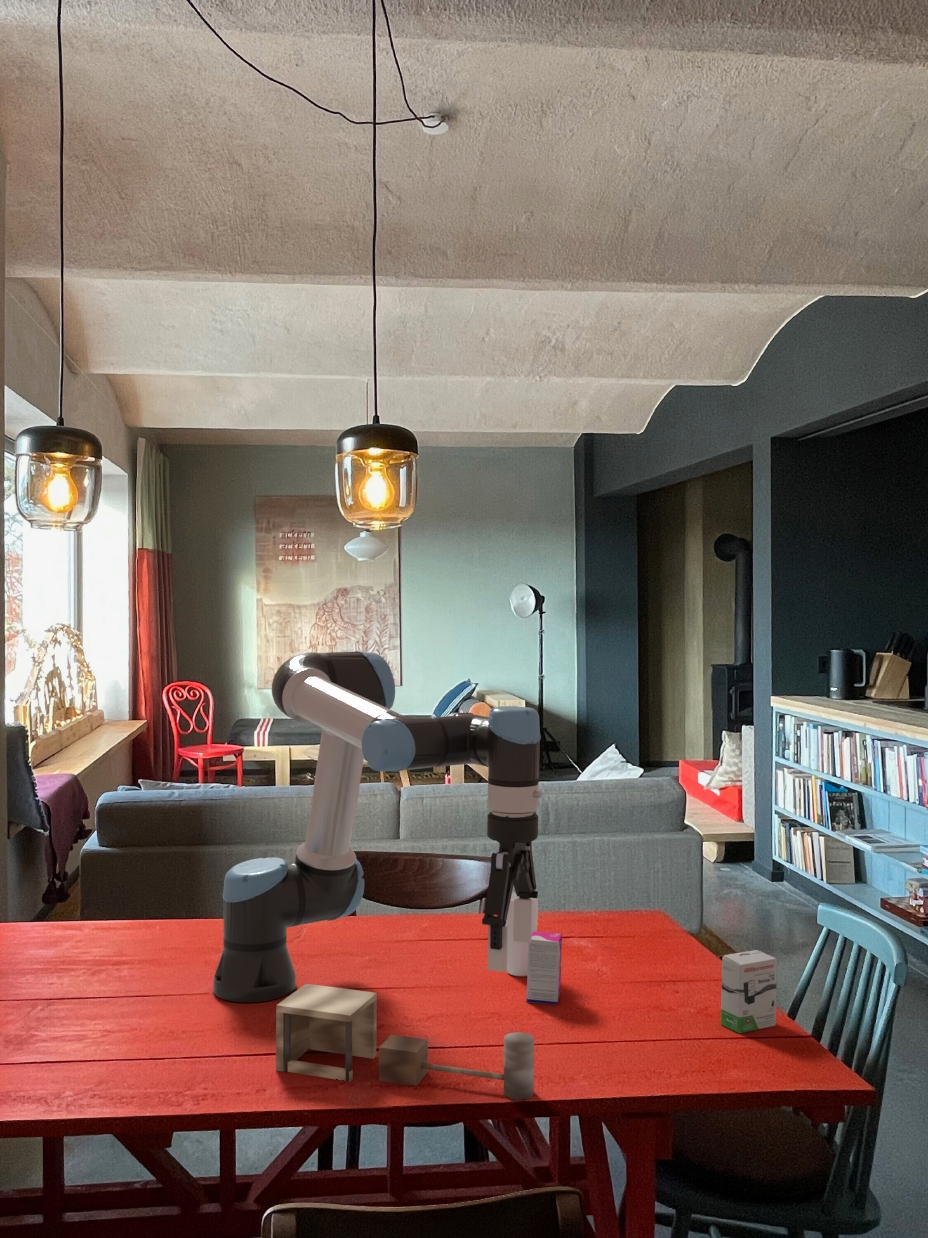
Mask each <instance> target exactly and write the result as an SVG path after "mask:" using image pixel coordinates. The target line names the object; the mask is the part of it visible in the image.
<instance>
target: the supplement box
mask: <svg viewBox="0 0 928 1238" xmlns="http://www.w3.org/2000/svg"><path fill="white" fill-rule="evenodd" d="M562 943H563V934H562V933H558V932H547V931H546V932H545V931H533V932H532V942H531V943H528V975H527V976H526V977H527V978H526V979H527V980H526V981H527V982H526V1003H532V1004H544V1005H552V1006H553V1005H555V1006H556V1005H558V1003H559V1002H558V1001H559V998H560V996H561V985H562V984H561V983H562V981H561V980H562V979H561V978H562V952H563V951H562V950H563V949H562V948H563V947H562V946H563V944H562Z"/></svg>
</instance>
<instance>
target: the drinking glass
mask: <svg viewBox="0 0 928 1238" xmlns="http://www.w3.org/2000/svg"><path fill="white" fill-rule="evenodd" d="M515 898H519V897H518V896H516V892H512V895H511V900H510V905H509V910H508V915H507V920H506V925H508V964H507V972H506V973H508V974H509V975H511V976H514V977H527V975H528V943H526V942H518V941H513V936H514V899H515ZM538 898H539V897H537V899H536V898H530V899H532V932H533V931H537V930H538V920H539V918H538V917H539V903H538V900H539V899H538Z"/></svg>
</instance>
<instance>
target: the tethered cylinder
mask: <svg viewBox="0 0 928 1238" xmlns="http://www.w3.org/2000/svg"><path fill="white" fill-rule="evenodd" d="M428 1040H429V1039H425V1038H420V1037H418V1038H417V1037H413V1036H412V1037H410V1036H405V1035H396V1034H390V1035H389V1036H388V1037H387V1038H386V1039H385V1041H384V1042H383V1043H381V1045H379V1047H378V1081H379V1082H385V1083H391V1084H393V1083H394V1084H399V1085H407V1086H412V1085H413V1086H414V1085H415V1086H414V1087H417V1086H418V1085H419V1084H420V1082H421V1081H422V1080H423V1078H425V1076H426V1075H427V1074H428V1072H429V1070H430V1071H435V1072H444V1073H450V1074H457V1075H458V1074H459V1075H465V1076H473V1077H479V1078H485V1079H493V1080H500V1081H503V1095H504V1094H505V1095H504V1096H505V1097H506V1096H507V1098H508V1097H509V1098H508V1099H510V1098H512V1099H511V1100H514V1099H517V1101H523V1099H525V1100H529V1099H531V1098H532V1097H533V1096H534V1093H535V1092H534V1091H535V1083H534V1082H535V1081H534V1080H535V1037H534V1036H533V1035H532V1034H529V1033H526V1032H521V1031H520V1032H519V1031H518V1032H510V1033H506V1035H504V1037H503V1073H498V1072H489V1071H482V1070H476V1069H470V1068H469V1069H468V1068H463V1067H462V1068H461V1067H454V1066H453V1067H452V1066H447V1065H440V1064H434V1063H433V1064H432V1063H428V1061H429V1060H428V1059H429V1058H428V1057H429V1056H428V1052H429V1049H428V1048H429V1046H428V1044H429V1043H428V1042H429V1041H428Z"/></svg>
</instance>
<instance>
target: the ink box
mask: <svg viewBox="0 0 928 1238" xmlns="http://www.w3.org/2000/svg"><path fill="white" fill-rule="evenodd" d="M721 960H722V961H721V1002H720V1003H721V1004H720V1010H721V1011H720V1025H721V1026H723V1027H726V1029H727V1028H728V1029H729V1030H732V1031H733V1032H736V1033H738V1034H744V1033H749V1032H752V1031H758V1030H761V1029H765V1028H771V1027H774V1026H777V984H778V983H777V981H778V980H777V979H778V976H777V975H778V974H777V973H778V959H777V957H774V956H772V955H769V954H767V953H765V952H763V951H761V950H758V949H754V950H747V951H742V952H736V953H729V954H724V955H723V956H722V959H721Z"/></svg>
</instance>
